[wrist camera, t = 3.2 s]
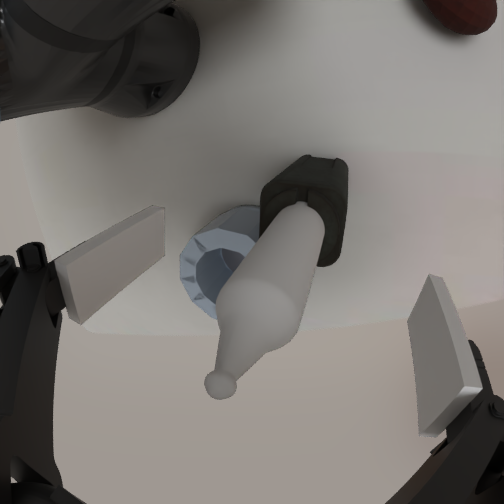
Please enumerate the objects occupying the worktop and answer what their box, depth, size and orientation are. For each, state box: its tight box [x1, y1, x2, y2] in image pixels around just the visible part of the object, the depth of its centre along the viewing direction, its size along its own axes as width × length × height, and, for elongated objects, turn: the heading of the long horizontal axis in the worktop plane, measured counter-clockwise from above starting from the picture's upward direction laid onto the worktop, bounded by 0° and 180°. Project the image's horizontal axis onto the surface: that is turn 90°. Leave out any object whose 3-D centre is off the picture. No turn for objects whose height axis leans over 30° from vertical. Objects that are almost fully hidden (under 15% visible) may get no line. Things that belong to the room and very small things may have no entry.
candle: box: [204, 155, 348, 400], centre depth 17 cm, size 5×5×25 cm
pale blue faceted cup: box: [180, 205, 260, 319], centre depth 30 cm, size 10×10×8 cm
